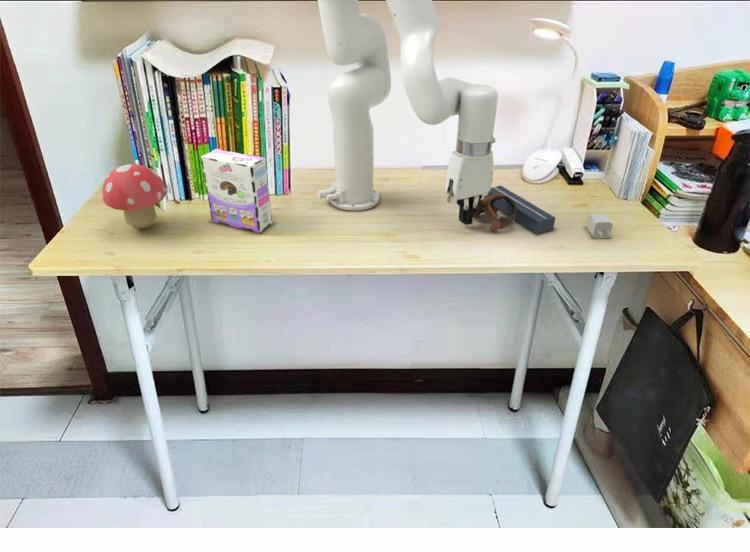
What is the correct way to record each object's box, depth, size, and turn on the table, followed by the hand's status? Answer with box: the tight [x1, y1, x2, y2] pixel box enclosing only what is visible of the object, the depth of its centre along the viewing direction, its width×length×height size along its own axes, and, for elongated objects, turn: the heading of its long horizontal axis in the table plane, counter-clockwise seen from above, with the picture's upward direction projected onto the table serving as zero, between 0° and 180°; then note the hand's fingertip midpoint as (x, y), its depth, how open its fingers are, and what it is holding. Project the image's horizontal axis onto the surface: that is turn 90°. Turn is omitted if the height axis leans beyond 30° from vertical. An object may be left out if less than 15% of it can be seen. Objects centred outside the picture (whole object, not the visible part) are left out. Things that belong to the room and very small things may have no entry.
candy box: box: [200, 148, 273, 234], centre depth 127 cm, size 14×6×16 cm, turn 65°
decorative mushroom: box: [101, 163, 168, 230], centre depth 125 cm, size 13×13×15 cm
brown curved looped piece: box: [473, 194, 517, 233], centre depth 131 cm, size 12×10×8 cm
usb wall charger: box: [586, 212, 614, 239], centre depth 127 cm, size 4×7×4 cm, turn 179°
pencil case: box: [483, 185, 556, 235], centre depth 136 cm, size 5×20×3 cm, turn 28°
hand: (465, 222), depth 129 cm, fingers closed
